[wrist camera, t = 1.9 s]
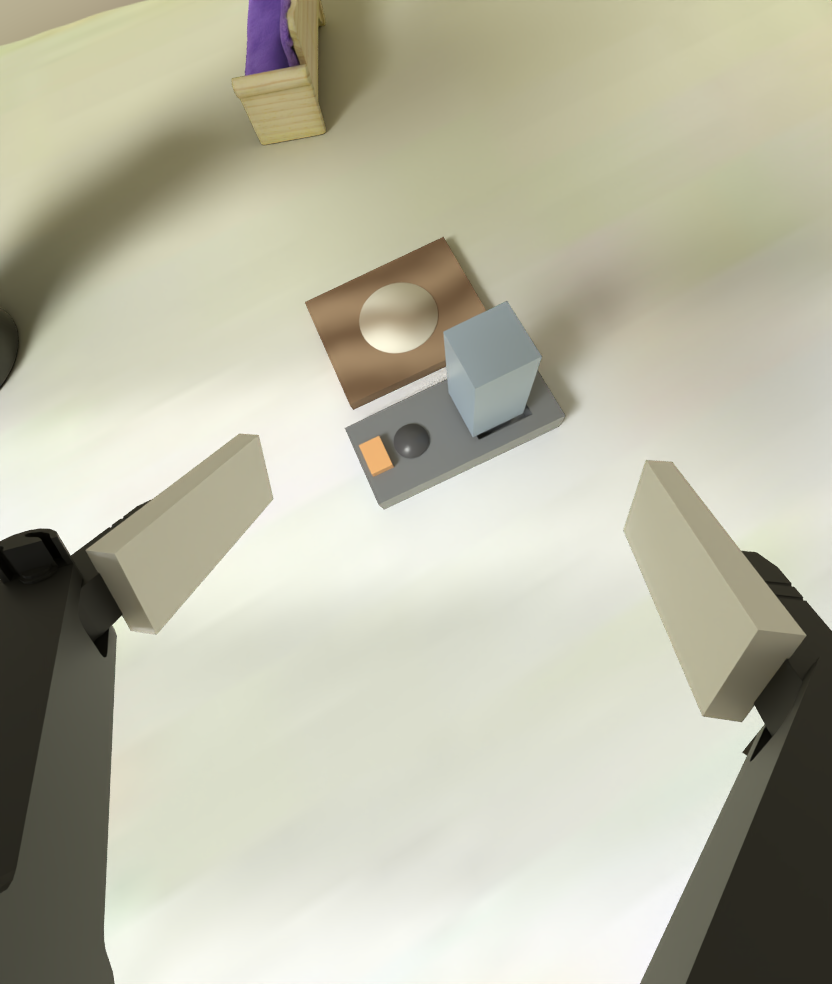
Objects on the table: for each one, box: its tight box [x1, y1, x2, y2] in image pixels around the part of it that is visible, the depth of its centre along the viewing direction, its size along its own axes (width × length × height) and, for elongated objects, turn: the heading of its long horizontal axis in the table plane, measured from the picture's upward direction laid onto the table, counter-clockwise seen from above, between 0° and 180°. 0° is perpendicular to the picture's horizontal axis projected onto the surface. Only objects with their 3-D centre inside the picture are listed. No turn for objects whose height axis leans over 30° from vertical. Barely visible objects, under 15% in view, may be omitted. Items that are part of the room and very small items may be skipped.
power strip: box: [345, 370, 565, 509], centre depth 38 cm, size 18×8×4 cm, turn 115°
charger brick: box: [443, 301, 542, 438], centre depth 33 cm, size 5×5×12 cm
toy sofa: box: [232, 0, 326, 145], centre depth 47 cm, size 21×9×10 cm, turn 3°
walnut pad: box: [305, 237, 486, 410], centre depth 42 cm, size 13×16×1 cm
